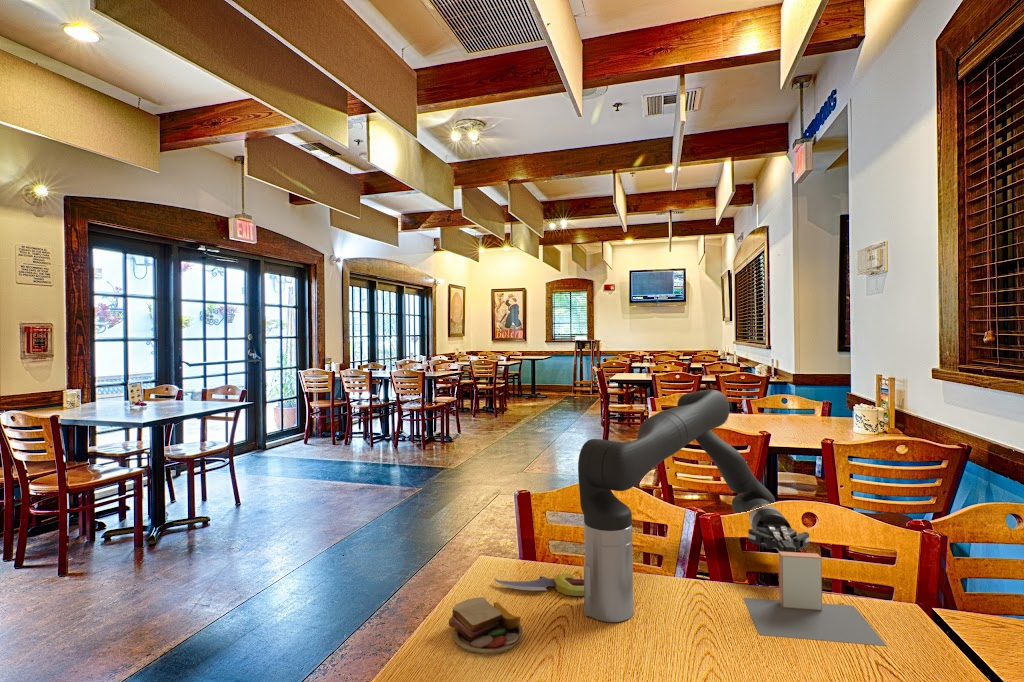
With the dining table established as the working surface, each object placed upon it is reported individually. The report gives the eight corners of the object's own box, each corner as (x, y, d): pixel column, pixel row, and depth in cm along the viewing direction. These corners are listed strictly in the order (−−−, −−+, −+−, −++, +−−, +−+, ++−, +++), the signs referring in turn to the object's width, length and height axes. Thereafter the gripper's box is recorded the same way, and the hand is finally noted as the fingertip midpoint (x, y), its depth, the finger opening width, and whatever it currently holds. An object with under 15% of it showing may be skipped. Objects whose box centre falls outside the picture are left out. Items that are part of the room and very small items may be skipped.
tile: (782, 607, 106) (781, 555, 106) (779, 602, 108) (778, 551, 108) (822, 611, 104) (821, 558, 104) (818, 605, 106) (817, 553, 106)
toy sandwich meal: (474, 667, 91) (474, 638, 91) (439, 631, 102) (438, 605, 102) (537, 643, 97) (536, 616, 97) (497, 612, 109) (496, 588, 109)
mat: (759, 640, 97) (759, 634, 97) (743, 602, 110) (743, 597, 110) (887, 651, 92) (887, 645, 92) (854, 610, 106) (853, 605, 106)
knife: (490, 597, 115) (612, 600, 113) (490, 584, 115) (611, 587, 113) (495, 581, 123) (608, 583, 121) (494, 569, 123) (608, 571, 121)
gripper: (738, 506, 131) (754, 532, 114) (799, 509, 128) (825, 535, 111) (738, 538, 131) (755, 568, 114) (799, 541, 128) (825, 573, 111)
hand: (789, 552), depth 112 cm, fingers closed
